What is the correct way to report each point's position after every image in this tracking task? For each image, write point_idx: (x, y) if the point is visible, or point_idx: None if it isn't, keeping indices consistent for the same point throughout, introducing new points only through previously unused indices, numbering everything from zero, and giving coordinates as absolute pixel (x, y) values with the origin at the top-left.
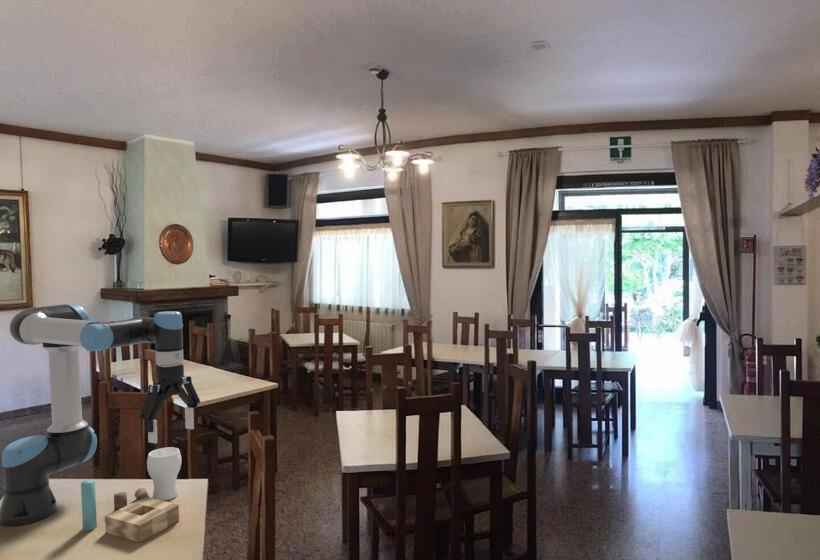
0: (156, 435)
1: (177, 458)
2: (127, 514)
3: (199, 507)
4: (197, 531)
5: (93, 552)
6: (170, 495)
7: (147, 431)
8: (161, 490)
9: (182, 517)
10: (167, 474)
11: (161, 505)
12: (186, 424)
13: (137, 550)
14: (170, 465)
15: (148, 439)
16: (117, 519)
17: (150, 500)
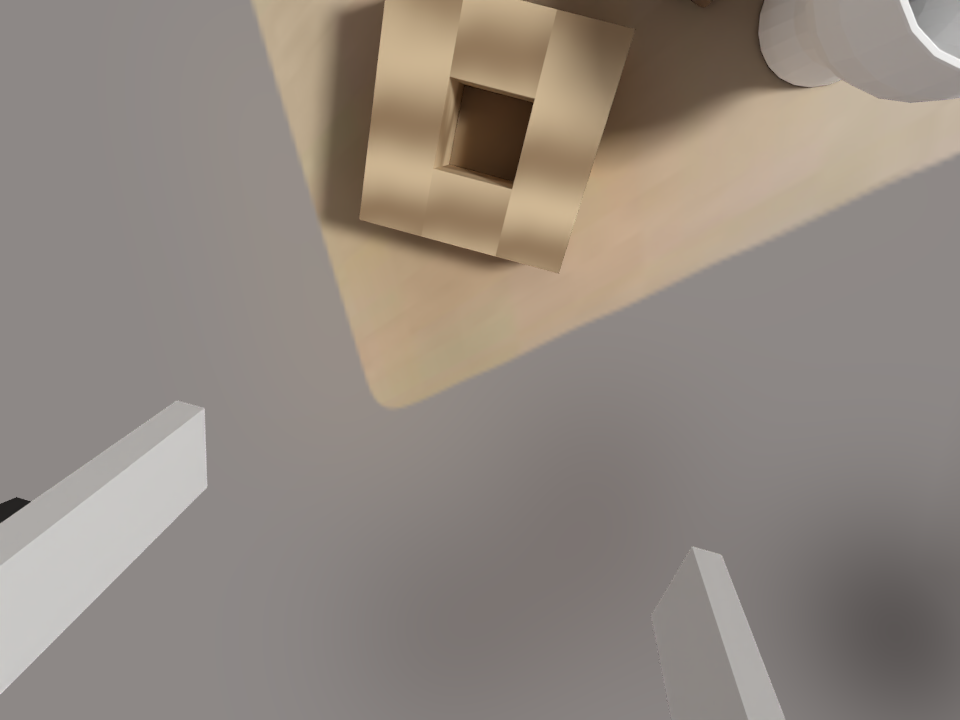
0: (138, 543)
1: (954, 92)
2: (429, 86)
3: (682, 275)
4: (493, 362)
5: (280, 73)
6: (788, 74)
7: (7, 513)
8: (789, 21)
9: (588, 253)
10: (824, 60)
11: (542, 196)
12: (696, 602)
13: (341, 235)
14: (863, 75)
15: (152, 419)
16: (376, 72)
17: (590, 96)
